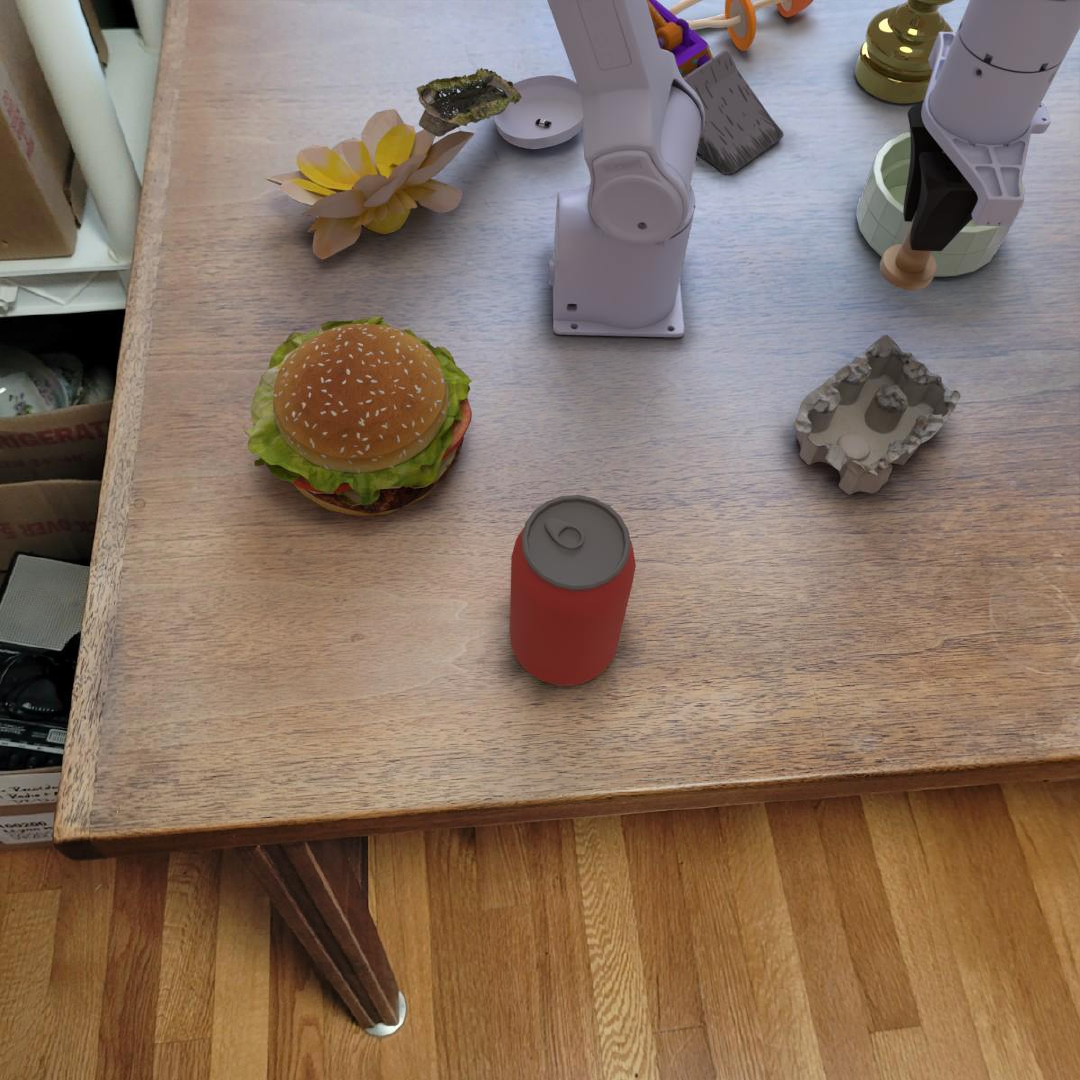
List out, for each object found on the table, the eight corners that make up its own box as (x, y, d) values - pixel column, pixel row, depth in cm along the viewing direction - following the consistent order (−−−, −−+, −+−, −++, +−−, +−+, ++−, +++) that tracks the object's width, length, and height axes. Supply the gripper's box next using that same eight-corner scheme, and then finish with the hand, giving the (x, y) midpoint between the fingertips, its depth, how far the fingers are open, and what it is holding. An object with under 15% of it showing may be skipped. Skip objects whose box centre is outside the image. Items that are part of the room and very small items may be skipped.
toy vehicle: (722, 182, 84) (741, 6, 71) (547, 71, 93) (535, -104, 80) (793, 130, 87) (824, -49, 74) (616, 27, 96) (616, -149, 83)
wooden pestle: (883, 289, 69) (947, 148, 59) (875, 250, 71) (936, 106, 61) (937, 291, 69) (1009, 150, 60) (927, 252, 71) (996, 108, 61)
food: (331, 336, 75) (314, 253, 68) (503, 412, 72) (504, 334, 65) (215, 476, 68) (183, 400, 61) (399, 566, 65) (387, 497, 59)
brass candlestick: (838, 60, 93) (873, -52, 84) (913, 47, 94) (955, -65, 85) (876, 112, 89) (916, 2, 81) (952, 98, 91) (1000, -13, 82)
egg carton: (859, 511, 69) (878, 477, 65) (774, 441, 71) (788, 404, 68) (956, 425, 73) (979, 388, 69) (871, 361, 75) (889, 323, 72)
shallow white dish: (526, 85, 90) (523, 65, 88) (607, 108, 87) (606, 89, 85) (476, 143, 87) (472, 123, 85) (559, 169, 84) (556, 149, 82)
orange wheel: (683, 20, 87) (857, -15, 87) (658, -50, 89) (827, -83, 90) (675, 86, 93) (836, 53, 94) (652, 20, 96) (809, -11, 97)
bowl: (866, 279, 79) (887, 230, 75) (844, 178, 85) (863, 126, 81) (1011, 283, 80) (1040, 234, 75) (980, 182, 85) (1005, 131, 81)
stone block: (549, 102, 84) (498, 110, 86) (537, 45, 81) (486, 55, 84) (452, 148, 74) (399, 156, 77) (436, 85, 72) (382, 95, 75)
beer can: (555, 571, 66) (566, 464, 55) (639, 633, 64) (666, 533, 53) (487, 644, 63) (484, 545, 53) (572, 711, 61) (587, 622, 51)
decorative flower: (430, 108, 84) (429, 15, 75) (496, 219, 82) (502, 137, 72) (258, 176, 81) (233, 88, 72) (321, 293, 79) (304, 217, 69)
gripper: (1123, 132, 52) (1008, 319, 64) (1053, -38, 59) (962, 158, 71) (983, 127, 52) (893, 316, 64) (931, -42, 59) (859, 154, 71)
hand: (922, 232), depth 67 cm, fingers closed on wooden pestle, 2 cm apart
